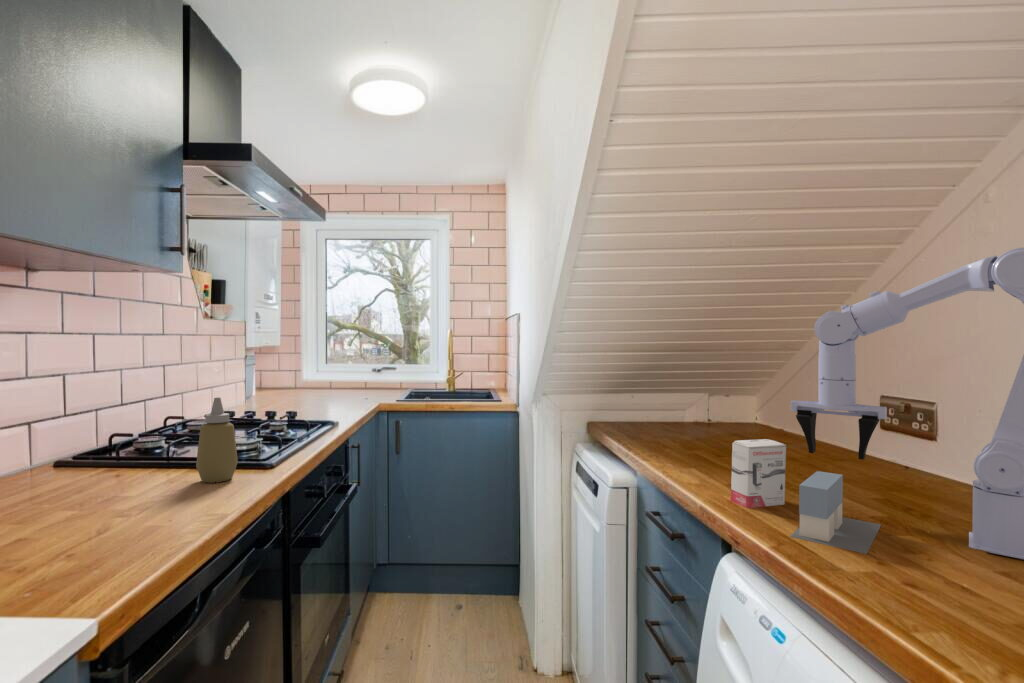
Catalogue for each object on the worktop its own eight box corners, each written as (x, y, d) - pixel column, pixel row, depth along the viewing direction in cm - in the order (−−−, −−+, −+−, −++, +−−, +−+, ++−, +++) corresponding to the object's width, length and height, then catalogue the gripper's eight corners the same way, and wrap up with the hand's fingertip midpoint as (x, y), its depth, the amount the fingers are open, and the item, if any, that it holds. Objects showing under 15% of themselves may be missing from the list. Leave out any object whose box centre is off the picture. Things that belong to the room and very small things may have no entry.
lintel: (842, 501, 89) (842, 474, 89) (826, 519, 80) (827, 489, 80) (817, 496, 91) (817, 470, 91) (799, 513, 82) (799, 485, 82)
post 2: (842, 523, 88) (842, 502, 88) (837, 529, 85) (837, 507, 85) (815, 517, 91) (815, 497, 91) (809, 523, 88) (810, 502, 88)
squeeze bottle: (201, 476, 118) (201, 396, 118) (241, 474, 120) (241, 395, 120) (191, 486, 110) (191, 400, 110) (234, 483, 113) (234, 399, 113)
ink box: (748, 511, 96) (748, 445, 96) (729, 502, 100) (730, 440, 100) (787, 506, 98) (787, 443, 98) (767, 499, 103) (767, 438, 103)
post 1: (834, 534, 83) (834, 512, 83) (828, 541, 80) (828, 518, 80) (805, 528, 86) (805, 507, 86) (799, 535, 83) (799, 513, 83)
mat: (881, 527, 88) (881, 524, 88) (866, 556, 75) (866, 553, 75) (813, 513, 94) (813, 511, 94) (789, 538, 82) (789, 536, 82)
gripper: (889, 380, 93) (888, 457, 93) (797, 376, 102) (797, 446, 102) (883, 382, 87) (883, 464, 87) (787, 378, 97) (787, 452, 97)
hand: (836, 455), depth 94 cm, fingers open, 7 cm apart
